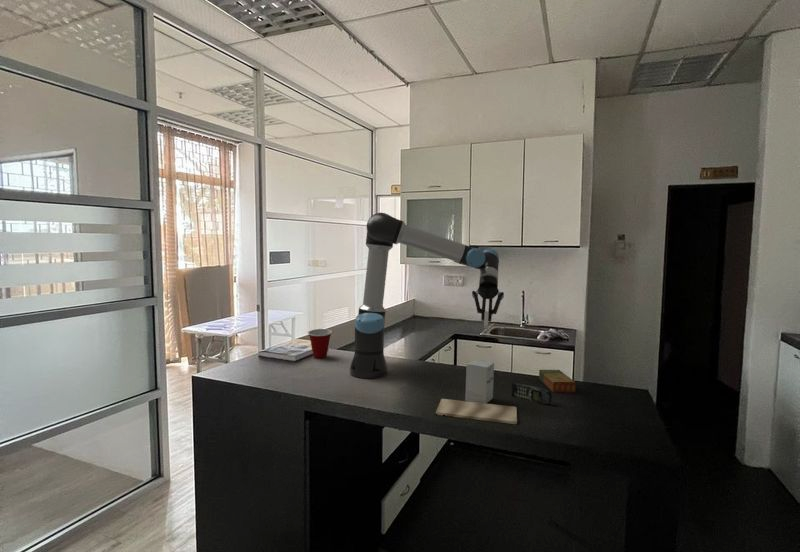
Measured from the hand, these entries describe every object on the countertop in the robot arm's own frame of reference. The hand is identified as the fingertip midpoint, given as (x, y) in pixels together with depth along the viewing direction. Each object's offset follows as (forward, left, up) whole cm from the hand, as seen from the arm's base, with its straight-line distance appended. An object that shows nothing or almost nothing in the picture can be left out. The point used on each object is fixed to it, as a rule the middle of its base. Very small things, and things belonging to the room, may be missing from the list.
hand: (485, 327), depth 161 cm
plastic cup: (-74, +12, -21) cm, 78 cm away
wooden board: (0, -32, -21) cm, 38 cm away
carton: (+27, +4, -22) cm, 34 cm away
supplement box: (0, -21, -21) cm, 30 cm away
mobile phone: (+17, -16, -21) cm, 32 cm away
